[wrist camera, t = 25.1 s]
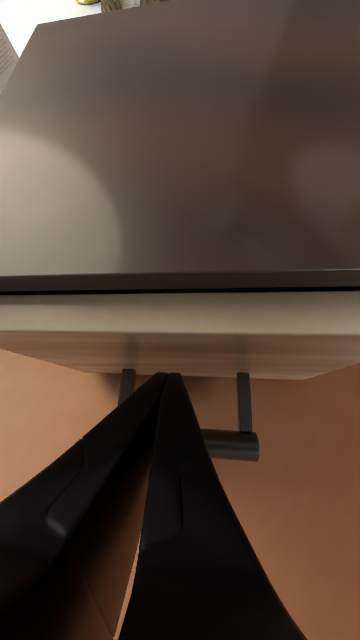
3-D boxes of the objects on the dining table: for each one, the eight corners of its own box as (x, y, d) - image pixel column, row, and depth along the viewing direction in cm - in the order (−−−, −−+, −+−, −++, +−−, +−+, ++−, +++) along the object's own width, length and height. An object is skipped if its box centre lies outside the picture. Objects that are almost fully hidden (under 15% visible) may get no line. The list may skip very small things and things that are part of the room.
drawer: (314, 458, 12) (540, 567, 4) (72, 439, 14) (-132, 487, 6) (280, 201, 18) (339, 28, 10) (115, 211, 20) (47, 72, 12)
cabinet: (306, 362, 14) (510, 266, 5) (86, 356, 16) (-100, 280, 7) (282, 188, 20) (355, -35, 10) (116, 199, 21) (36, 24, 12)
